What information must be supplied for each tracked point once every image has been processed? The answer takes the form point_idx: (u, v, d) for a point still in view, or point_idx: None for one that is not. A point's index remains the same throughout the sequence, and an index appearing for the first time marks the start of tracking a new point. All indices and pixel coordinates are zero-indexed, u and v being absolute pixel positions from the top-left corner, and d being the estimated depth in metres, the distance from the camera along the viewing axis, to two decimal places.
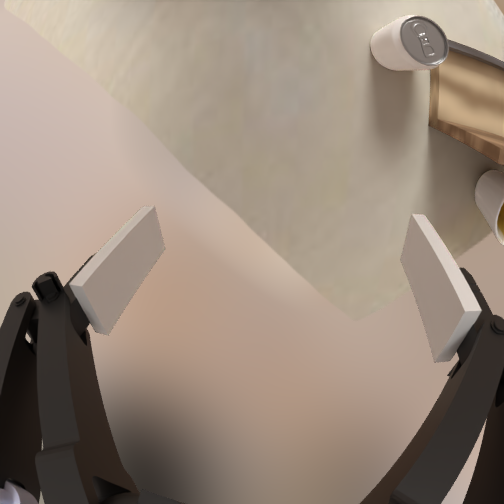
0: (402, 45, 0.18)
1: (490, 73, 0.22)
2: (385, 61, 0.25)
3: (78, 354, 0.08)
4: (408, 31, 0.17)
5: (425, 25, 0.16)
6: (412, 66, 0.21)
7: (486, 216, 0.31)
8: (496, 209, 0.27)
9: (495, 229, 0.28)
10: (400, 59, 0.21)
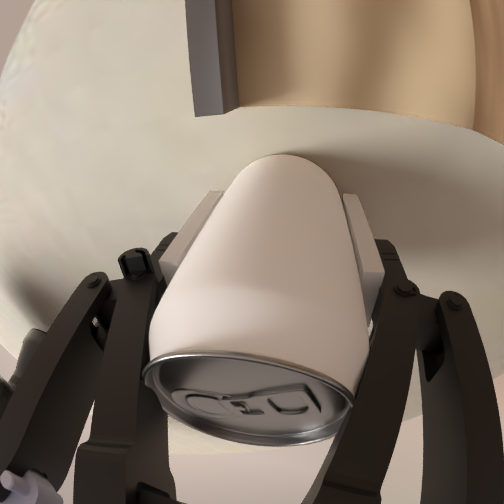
0: (286, 437, 0.08)
1: None
2: None
3: None
4: (231, 424, 0.08)
5: (178, 390, 0.07)
6: None
7: None
8: None
9: None
10: None
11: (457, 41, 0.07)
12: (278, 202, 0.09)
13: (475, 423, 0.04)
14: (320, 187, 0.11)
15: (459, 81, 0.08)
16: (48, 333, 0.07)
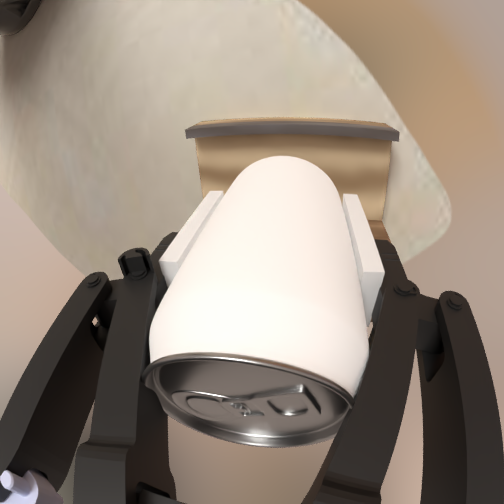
0: (286, 438, 0.08)
1: (277, 141, 0.29)
2: None
3: None
4: (231, 425, 0.08)
5: (179, 391, 0.07)
6: None
7: None
8: None
9: None
10: None
11: None
12: (278, 204, 0.09)
13: (475, 423, 0.04)
14: (320, 189, 0.11)
15: None
16: (48, 333, 0.07)
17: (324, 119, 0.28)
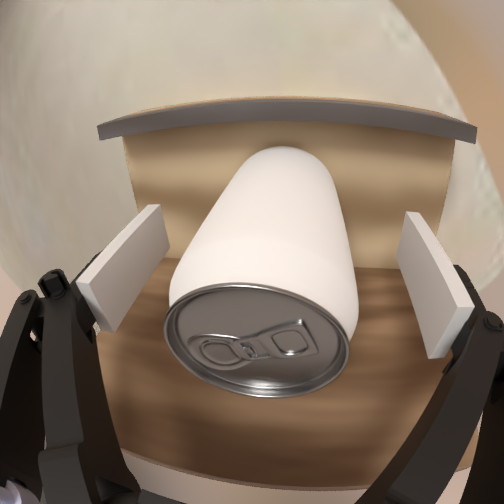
0: (288, 389, 0.09)
1: (255, 136, 0.16)
2: None
3: (84, 352, 0.08)
4: (239, 375, 0.09)
5: (194, 336, 0.08)
6: None
7: None
8: None
9: None
10: None
11: None
12: (278, 181, 0.11)
13: None
14: (315, 172, 0.13)
15: (170, 248, 0.22)
16: None
17: None
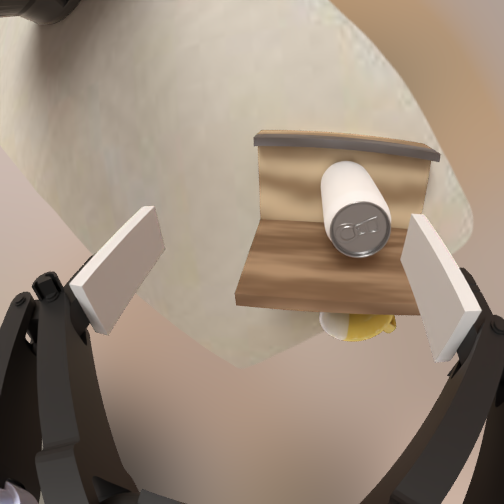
0: (367, 253, 0.25)
1: (335, 154, 0.32)
2: None
3: (78, 354, 0.08)
4: (351, 246, 0.25)
5: (340, 225, 0.24)
6: None
7: None
8: None
9: (322, 327, 0.37)
10: None
11: (290, 213, 0.37)
12: (358, 176, 0.26)
13: None
14: (367, 174, 0.28)
15: (276, 213, 0.37)
16: None
17: (375, 137, 0.31)
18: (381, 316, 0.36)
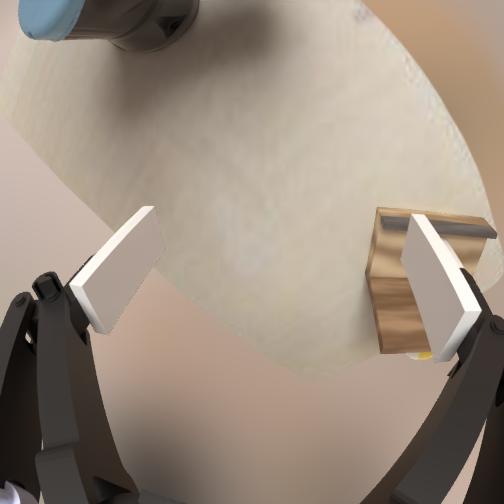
0: None
1: None
2: None
3: (78, 354, 0.08)
4: None
5: None
6: None
7: None
8: None
9: None
10: None
11: (392, 272, 0.44)
12: (454, 259, 0.33)
13: None
14: (454, 252, 0.36)
15: (381, 272, 0.44)
16: None
17: (455, 217, 0.38)
18: None
